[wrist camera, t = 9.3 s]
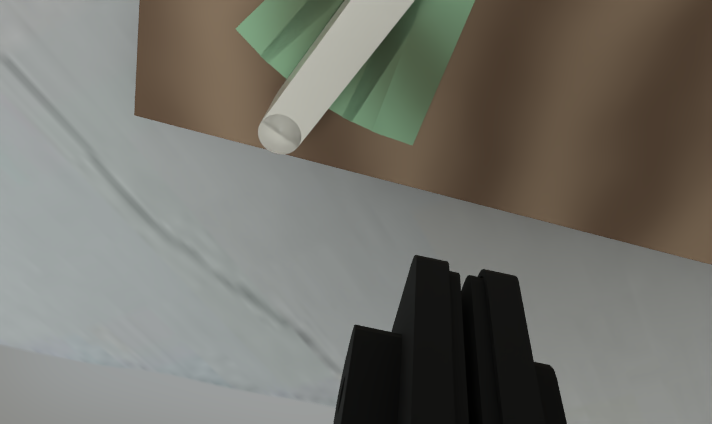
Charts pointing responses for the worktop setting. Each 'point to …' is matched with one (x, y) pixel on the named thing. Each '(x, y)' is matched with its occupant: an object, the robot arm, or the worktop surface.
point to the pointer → (327, 70)
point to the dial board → (474, 102)
